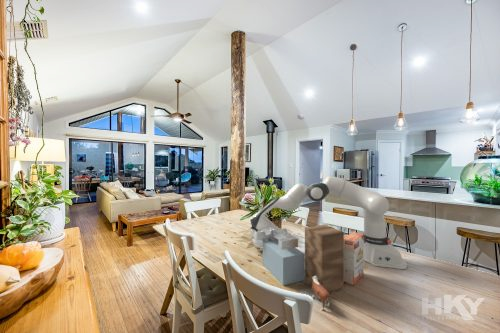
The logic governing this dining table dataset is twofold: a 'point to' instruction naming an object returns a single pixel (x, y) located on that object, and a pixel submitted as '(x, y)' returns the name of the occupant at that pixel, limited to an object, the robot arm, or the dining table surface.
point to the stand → (324, 256)
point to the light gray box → (284, 238)
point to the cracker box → (353, 257)
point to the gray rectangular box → (284, 262)
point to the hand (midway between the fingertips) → (275, 231)
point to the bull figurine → (320, 292)
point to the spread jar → (253, 231)
